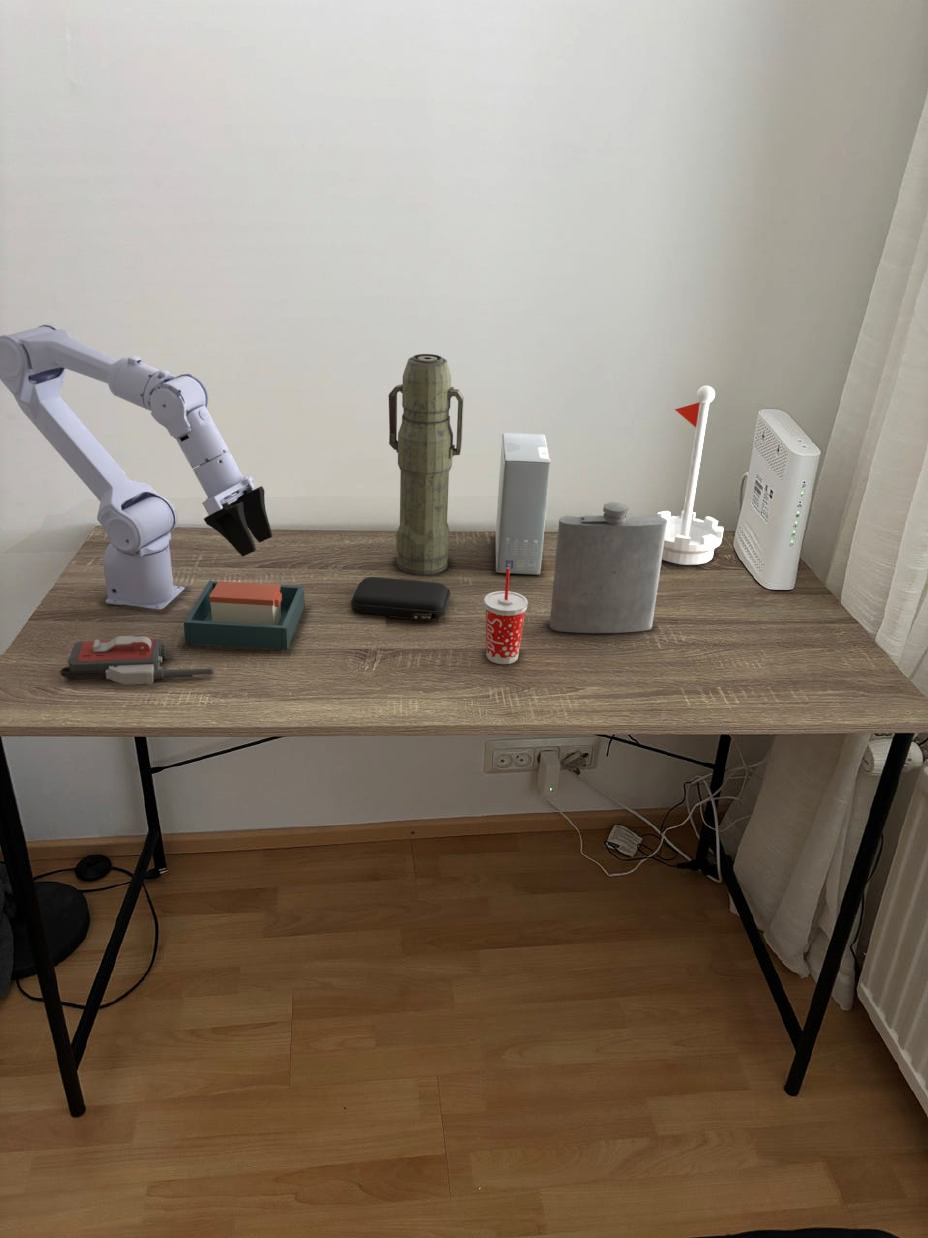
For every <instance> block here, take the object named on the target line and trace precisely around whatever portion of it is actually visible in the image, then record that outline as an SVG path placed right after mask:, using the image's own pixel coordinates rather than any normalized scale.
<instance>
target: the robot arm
mask: <svg viewBox="0 0 928 1238" xmlns="http://www.w3.org/2000/svg"><path fill="white" fill-rule="evenodd" d="M68 370H69V371H71V372H74V373H77V374H80V375H82V376H85V377H88V378H91V379H94V380H96V381H99V382H102V383H105V384H107V386H108V389H109V390H110V392H111V394H112V395H114V396H115V397H117V398H120V399H121V400H124V401H126V402H128V403H131V404H133V405H136V406H138V407H140V408H142V409H145V410H147V411H150V415H151V416H152V418H153V419H154V420H155V422H157V423H158V424H159V425H161V426H163V427H164V428H165V429H166V430H167V432H168V433H169V435H170V437H173V439H175V440H176V442H177V445H178V446H179V448H180V449H181V451H182V453H183V455H184V457H185V459H186V460H187V462H188V464H189V465H190V467H191V469H192V471H193V473H194V475H195V477H196V478H197V480H198V483H199V484H200V486H201V488H202V490H203V491H204V493H205V496H207V498H206V499H205V500H204V501H202V502H201V504H202V506H203V508H204V509H205V511H206V513H207V514H208V515H206V516H205V517H204V518H203V521H204V522H205V524H206V525H207V526H209V527H211V528H212V529H214V530H215V531H216V532H217V533H218V534H220V535H222V537H223V538H225V540H227V542H228V543H229V544H230V545H231V546H232V548H234V549H235V551H236V552H237V553H238V554H239V555H240V556H241V557H246V556H247V555H249V554H252V553H253V552H256V550H257V548H256V544H255V541H254V539H253V537H254V538H255V540H256V541H257V542H258V543H262V542H264V541H266V540H269V539H271V538H272V537H273V532H272V528H271V525H270V521H269V518H268V514H267V510H266V503H265V501H266V500H265V488H264V487H263V486H262V485H260V486H258V487H257V488H255V487H256V486H255V485H254V477H253V476H252V475H251V476H250V475H247V476H246V477H244V475H243V474H242V472H241V470H240V468H239V467H238V465H237V462H236V461H235V459H234V456H233V455H232V453H231V451H230V449H229V447H228V446H227V444H226V442H225V440H224V438H223V436H222V434H221V433H220V431H219V428H218V427H217V425H216V423H215V422H214V419H213V418H212V416H211V414H210V412H209V410H208V409H207V408H208V406H209V394H208V391H207V389H206V386H205V384H204V383H203V382H202V381H201V380H200V379H199V378H197V377H195V376H194V375H192V374H191V373H182V374H179V375H173V374H171V371H169V370H167V369H161V370H160V369H158V368H156V367H154V366H151V365H149V364H147V363H144V362H143V359H142V358H141V357H140V356H138V355H132V356H124V357H121V358H120V359H118V360H116V359H114V358H112V357H110V356H108V355H106V354H104V353H103V352H101V351H99V350H97V349H94V348H92V346H89V345H88V344H85V343H83V342H82V341H80V340H77V339H75V338H73V337H71V335H70V333H69V332H68V331H67V330H66V329H62V328H58V327H56V326H55V325H53V324H48V323H47V324H46V323H45V324H42V325H39V326H38V327H34V328H30V329H25V330H22V331H18V332H15V333H11V334H3V335H2V334H1V335H0V381H1V382H2V383H3V385H4V386H5V387H6V388H7V390H9V392H10V393H11V395H12V396H13V397H14V399H15V401H16V403H17V405H18V407H19V408H20V410H21V411H22V412H23V414H24V415H25V416H26V417H27V419H29V420H30V422H31V423H32V424H33V425H34V426H35V428H36V429H37V430H38V431H39V432H40V433H41V434H42V436H43V437H44V438H45V439H46V440H47V441H48V443H49V444H50V445H51V446H52V447H53V449H54V450H55V451H56V452H57V453H58V454H59V455H60V457H61V458H62V459H63V460H64V461H65V462H66V464H67V465H68V466H69V467H70V468H71V469H72V470H73V472H74V473H75V474H76V475H77V477H78V478H79V479H80V480H81V481H82V482H83V484H85V486H86V487H87V488H88V489H89V491H91V493H92V495H94V496H95V497H96V498H97V500H98V501H99V506H98V511H97V515H96V521H98V523H99V524H100V525H101V526H102V528H103V530H104V531H105V534H106V536H107V539H108V540H109V542H110V543H109V544H108V545H107V547H106V549H105V551H104V555H103V571H104V579H105V586H106V594H107V598H106V599H105V604H107V605H112V606H113V605H114V606H120V607H122V605H126V606H133V607H140V608H141V607H142V608H146V609H153V610H163V609H164V608H165V607H166V606H168V605H169V604H170V603H171V602H172V601H173V600H174V599H175V598H176V597H178V595H179V594H181V593H182V591H184V590H185V586H179V585H174V579H173V570H172V559H171V550H170V540H171V539H172V534H171V533H172V532H173V531H174V530H175V529H176V527H177V524H178V515H177V512H176V509H175V507H174V505H173V503H172V502H171V501H170V500H169V499H168V498H167V497H165V496H163V495H161V494H160V493H158V492H157V491H155V490H154V489H153V487H152V486H151V485H150V484H148V483H144V482H141V481H139V480H138V481H137V480H134V479H131V478H130V477H129V476H128V475H127V473H126V472H125V471H124V470H123V469H122V468H121V467H120V465H119V464H118V463H117V462H116V461H115V460H114V458H113V457H112V456H111V455H110V453H108V451H107V450H106V449H105V447H103V446H102V444H101V443H100V442H99V440H97V439H96V437H95V436H94V435H93V434H92V432H91V431H90V430H89V429H88V427H86V426H85V424H84V423H83V422H82V421H81V419H79V417H78V416H77V415H76V414H75V413H74V411H73V410H72V409H71V408H70V407H69V405H67V403H66V402H65V401H64V400H63V398H62V397H61V389H62V388H63V386H64V383H65V378H66V375H67V371H68Z"/></svg>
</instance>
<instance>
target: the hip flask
mask: <svg viewBox="0 0 928 1238" xmlns="http://www.w3.org/2000/svg"><path fill="white" fill-rule="evenodd" d="M602 509H603V511H602V512H603V515H579V516H576V515H565V516H561V517H560V518H559V519H558V529H557V538H556V539H557V540H556V551H555V562H554V574H553V584H552V595H551V605H550V617H549V628H550V629H551V630H552V631H556V632H562V633H574V634H575V633H577V634H622V633H623V634H624V633H634V632H635V633H636V632H645V631H649V630H652V628H653V624H654V623H653V622H654V615H655V608H656V602H657V595H658V587H659V581H660V575H661V567H662V561H663V560H662V554H663V547H664V540H665V533H666V526H667V520H666V519H665V518H662V517H658V516H657V515H650V516H649V515H647V516H632V517H627V516H628V515H629V509H630V507H629V505H627V504H625V503H622V502H619V501H618V502H617V501H615V502H614V501H609V502H606V503H603V508H602Z"/></svg>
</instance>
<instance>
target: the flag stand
mask: <svg viewBox="0 0 928 1238" xmlns="http://www.w3.org/2000/svg"><path fill="white" fill-rule="evenodd" d="M715 397H716V392H715V389H714V388H713V387H712V386H710V385H703V386H701V387H699V388H698V390H697V392H696V398H697V401H698V402H696V403H693V404H688V405H685V406H682V407H679V408H675V409H674V411H676V412H677V413H678V414H679V415H680V416H681V417H683V418H684V419H685V420H686V421H687V422H689V424H690V425H692V426H693V427H694V428H695V433H694V439H693V440H694V441H693V445H692V453H691V459H690V465H689V472H688V478H687V484H686V491H685V498H684V504H683V510H681V513H680V515H672V512H671V511H669V510H664V511H663V510H662V511H659V512H657V513H656V516H658V517H662V518H665V519H666V520H667V526H666V533H665V540H664V547H663V554H662V561H665V562H669V563H673V564H678V565H685V566H696V565H702V564H706V563H708V562H709V561H711V560H712V559H713V557H714V552H715V549H716V548H718V547H720V545H721V544H722V540H723V535H724V526H719V520H717V519H715V518H714V517H712V516H705V517H704V520H703V519H700V518H696V514H697V513H696V512H695V511H694V503H695V497H696V491H697V490H696V489H697V484H698V477H699V472H700V471H699V470H700V466H701V465H700V464H701V459H702V452H703V445H704V439H705V434H706V426H707V420H708V413H709V408H710V403H712V402H713V400H714V399H715Z"/></svg>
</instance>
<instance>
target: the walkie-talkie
mask: <svg viewBox="0 0 928 1238" xmlns="http://www.w3.org/2000/svg"><path fill="white" fill-rule="evenodd" d="M167 649H168V648H167V645H166V643H165V644H164V643H163V644H162V638H161V639H160V638H151V637H149V636H148V635H134V636H133V635H118V636H115V637H114V638H113V639H111V640H110V639H109V640H106V639H105V640H100V639H97V638H96V639H94V640H85V641H83V640H82V641H77V642H74V643H73V646H72V649H71V651H70V654H69V657H68V666H66V667H63V668H61V669H60V676H61V677H64V678H73V679H74V680H76V679H79V680H80V679H94V678H95V679H98V678H105V679H106V680H111V681H113V682H116V683H118V684H120V685H143V684H146V685H153V684H154V681H155V680H164V679H170V678H171V679H172V678H173V679H174V678H192V677H193V676H198V675H214V674H215V670H214V668H212V667H209V668H206V667H205V668H185V669H182V668H181V669H163V666H161V664H162V663H163V660H167V659H168V650H167Z"/></svg>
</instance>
